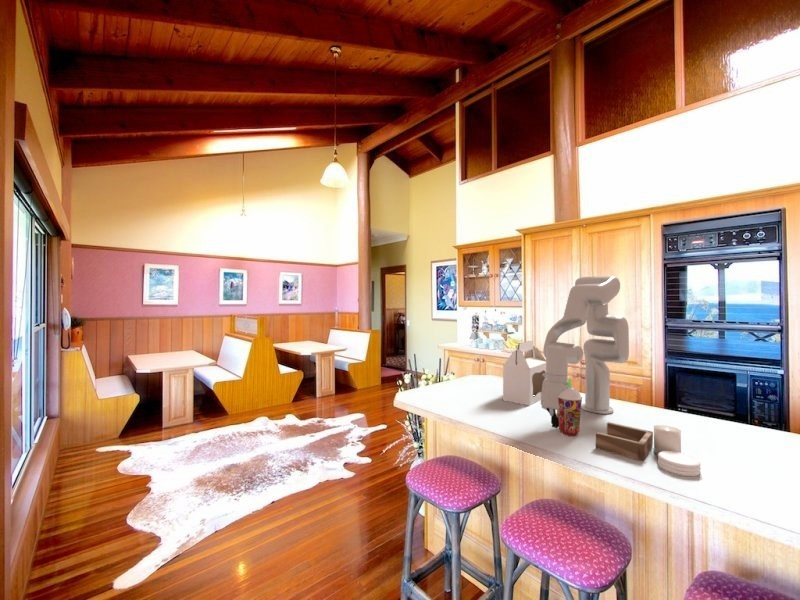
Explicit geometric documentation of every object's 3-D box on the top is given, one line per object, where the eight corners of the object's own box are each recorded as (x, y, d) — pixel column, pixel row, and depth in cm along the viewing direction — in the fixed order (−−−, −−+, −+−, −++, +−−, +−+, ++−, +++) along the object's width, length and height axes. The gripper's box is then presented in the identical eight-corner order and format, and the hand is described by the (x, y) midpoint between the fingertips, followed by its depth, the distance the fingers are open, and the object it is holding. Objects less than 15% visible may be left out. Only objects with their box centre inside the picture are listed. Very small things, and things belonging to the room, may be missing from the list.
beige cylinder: (655, 447, 123) (655, 423, 123) (682, 453, 118) (681, 428, 118) (652, 454, 118) (652, 429, 118) (679, 460, 113) (679, 434, 113)
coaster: (708, 479, 102) (709, 466, 102) (669, 475, 104) (669, 463, 104) (687, 462, 112) (687, 451, 112) (651, 460, 114) (651, 449, 114)
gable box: (521, 391, 194) (522, 338, 193) (547, 396, 185) (547, 341, 184) (502, 400, 177) (503, 342, 177) (529, 406, 168) (529, 345, 168)
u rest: (608, 435, 133) (608, 422, 133) (652, 446, 124) (652, 431, 124) (595, 448, 122) (595, 433, 122) (643, 460, 113) (643, 444, 113)
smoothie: (578, 439, 129) (579, 383, 129) (554, 434, 134) (554, 379, 134) (583, 432, 136) (584, 378, 136) (559, 427, 141) (560, 375, 141)
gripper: (532, 376, 141) (532, 424, 141) (573, 383, 130) (573, 434, 130) (541, 373, 146) (540, 419, 146) (580, 379, 136) (580, 429, 136)
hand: (555, 426), depth 138 cm, fingers closed
